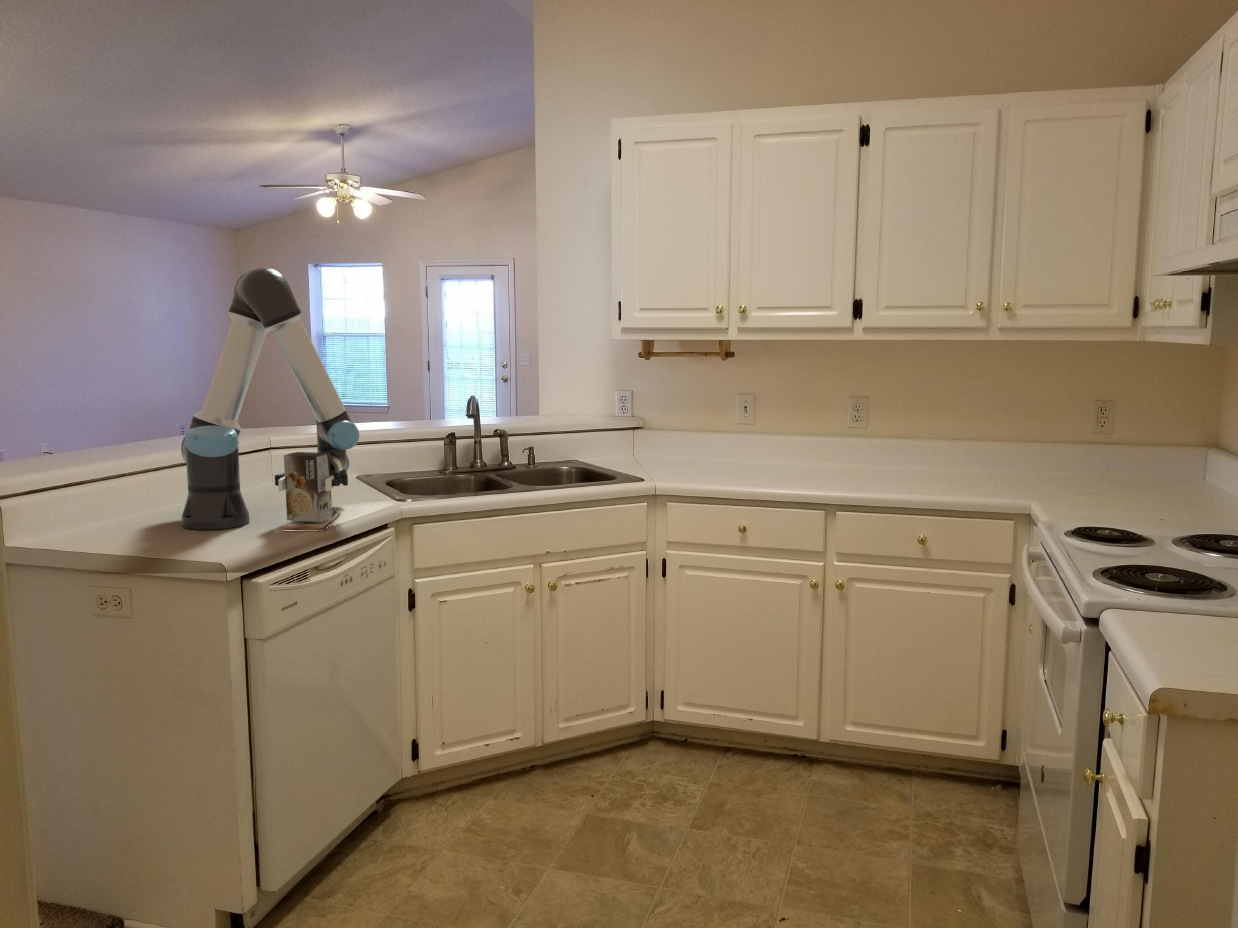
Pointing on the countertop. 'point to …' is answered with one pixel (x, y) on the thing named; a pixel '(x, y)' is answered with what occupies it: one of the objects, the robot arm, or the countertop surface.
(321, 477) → the grey cardboard box
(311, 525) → the stamp station
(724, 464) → the countertop surface
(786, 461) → the countertop surface
